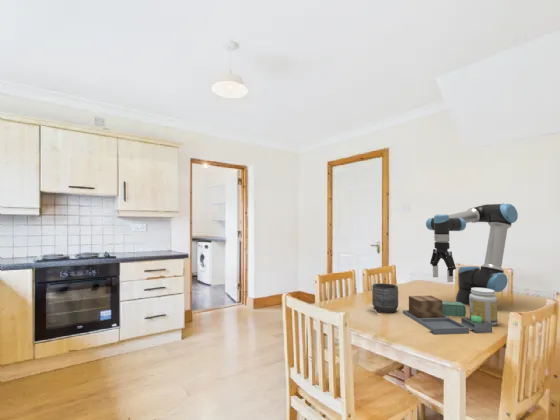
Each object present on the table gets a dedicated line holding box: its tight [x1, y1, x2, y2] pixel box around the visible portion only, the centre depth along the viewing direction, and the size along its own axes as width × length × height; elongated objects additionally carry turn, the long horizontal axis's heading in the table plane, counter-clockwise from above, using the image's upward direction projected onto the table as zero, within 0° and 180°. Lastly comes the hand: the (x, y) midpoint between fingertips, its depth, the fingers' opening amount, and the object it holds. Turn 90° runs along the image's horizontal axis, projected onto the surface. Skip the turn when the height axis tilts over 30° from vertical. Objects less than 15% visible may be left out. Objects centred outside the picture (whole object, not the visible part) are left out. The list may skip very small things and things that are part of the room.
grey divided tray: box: [402, 309, 470, 335], centre depth 156 cm, size 18×29×2 cm, turn 6°
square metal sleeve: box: [460, 317, 493, 334], centre depth 148 cm, size 9×9×4 cm
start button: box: [471, 315, 482, 323], centre depth 148 cm, size 4×4×4 cm
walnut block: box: [408, 295, 443, 318], centre depth 163 cm, size 13×10×10 cm
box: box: [442, 300, 467, 318], centre depth 168 cm, size 7×14×8 cm, turn 78°
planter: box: [371, 282, 399, 314], centre depth 176 cm, size 14×14×15 cm
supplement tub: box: [468, 288, 499, 327], centre depth 158 cm, size 12×12×17 cm
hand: (442, 279), depth 171 cm, fingers open, 13 cm apart
